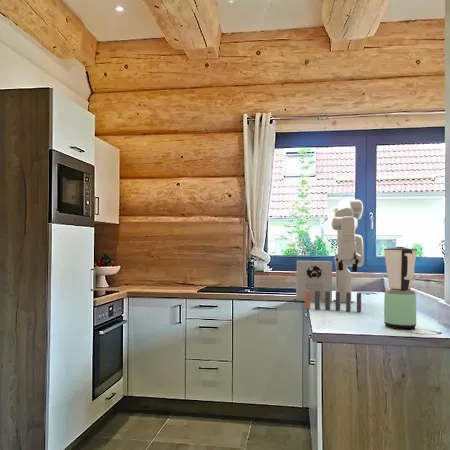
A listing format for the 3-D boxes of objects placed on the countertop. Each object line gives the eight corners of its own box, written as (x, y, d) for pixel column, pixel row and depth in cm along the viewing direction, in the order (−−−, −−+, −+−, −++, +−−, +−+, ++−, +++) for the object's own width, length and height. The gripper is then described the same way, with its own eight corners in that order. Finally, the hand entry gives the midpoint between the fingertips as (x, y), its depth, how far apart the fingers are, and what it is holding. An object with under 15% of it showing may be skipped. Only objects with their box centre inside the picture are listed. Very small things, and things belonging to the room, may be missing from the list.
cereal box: (330, 300, 292) (330, 261, 293) (331, 301, 284) (332, 261, 285) (296, 299, 294) (296, 260, 295) (296, 300, 286) (297, 261, 287)
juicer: (376, 324, 205) (377, 246, 207) (405, 324, 207) (405, 247, 208) (396, 332, 187) (396, 246, 188) (427, 332, 188) (427, 247, 189)
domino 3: (326, 309, 252) (326, 290, 252) (330, 309, 251) (330, 291, 251) (325, 310, 247) (325, 291, 247) (328, 310, 246) (329, 291, 247)
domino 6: (357, 311, 246) (357, 292, 246) (361, 311, 245) (361, 292, 246) (356, 312, 241) (356, 293, 242) (360, 312, 241) (360, 293, 241)
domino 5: (346, 310, 248) (347, 291, 248) (350, 310, 247) (350, 292, 248) (346, 311, 243) (346, 292, 244) (349, 311, 242) (350, 292, 243)
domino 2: (316, 308, 253) (316, 290, 254) (319, 308, 253) (320, 290, 253) (314, 309, 249) (315, 291, 249) (318, 309, 248) (318, 291, 248)
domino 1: (306, 307, 255) (306, 289, 256) (309, 307, 255) (310, 289, 255) (304, 308, 251) (305, 290, 251) (308, 309, 250) (308, 290, 250)
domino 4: (336, 309, 250) (336, 291, 250) (340, 309, 249) (340, 291, 249) (335, 310, 245) (335, 292, 245) (339, 311, 244) (339, 292, 245)
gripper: (330, 239, 252) (330, 270, 251) (356, 239, 238) (355, 272, 237) (340, 239, 256) (340, 269, 255) (365, 239, 242) (365, 271, 241)
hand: (347, 270), depth 246 cm, fingers open, 9 cm apart
